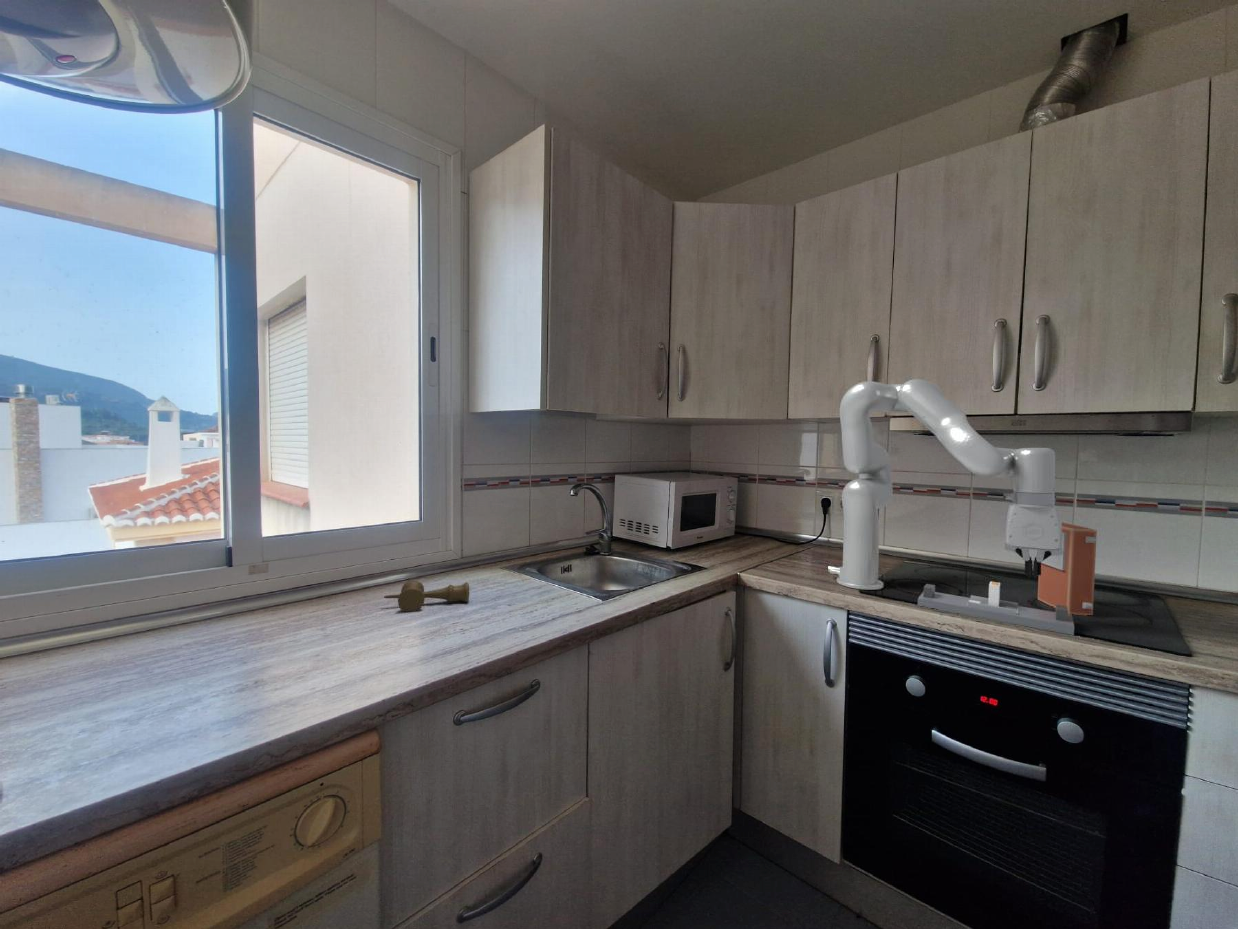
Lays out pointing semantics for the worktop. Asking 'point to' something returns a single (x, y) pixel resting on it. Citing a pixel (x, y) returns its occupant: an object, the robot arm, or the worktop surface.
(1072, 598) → the orange rectangular block
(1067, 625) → the strip
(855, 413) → the robot arm
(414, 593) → the kendama
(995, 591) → the breaker handle
